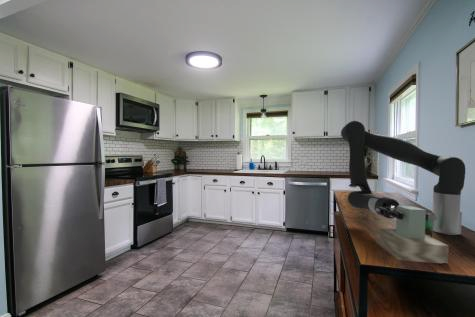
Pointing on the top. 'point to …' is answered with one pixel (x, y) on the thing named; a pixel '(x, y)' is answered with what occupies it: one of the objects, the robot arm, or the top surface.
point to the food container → (430, 223)
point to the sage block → (411, 222)
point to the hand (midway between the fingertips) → (414, 216)
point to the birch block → (412, 247)
